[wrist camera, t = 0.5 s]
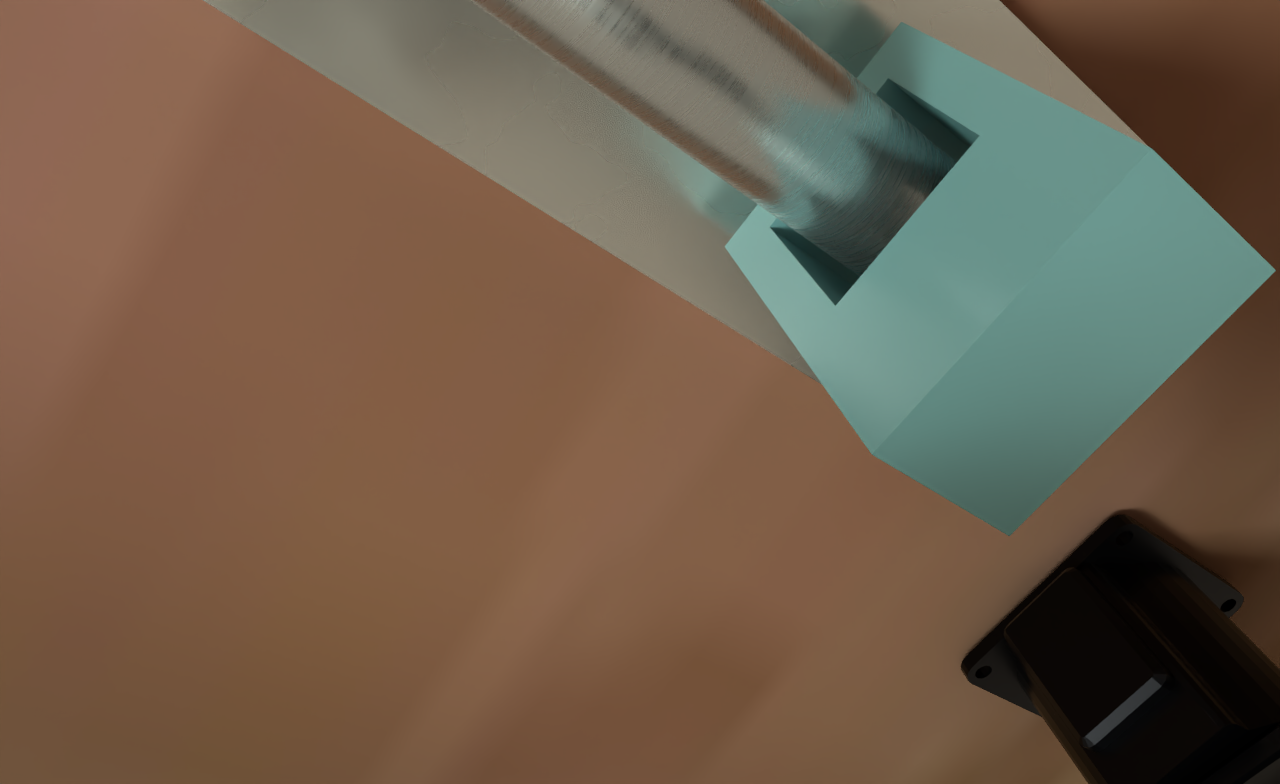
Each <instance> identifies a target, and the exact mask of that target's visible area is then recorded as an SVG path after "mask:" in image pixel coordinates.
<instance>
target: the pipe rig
mask: <svg viewBox="0 0 1280 784" xmlns="http://www.w3.org/2000/svg"><path fill="white" fill-rule="evenodd" d="M203 1H205V2H207V3H208V4H210V5H211V6H213V7H215V8H216V9H218V10H220V11H221V12H223V13H224V14H226V15H228V16H229V17H231V18H232V19H234V20H236V21H237V22H239V23H240V24H242V25H244V26H245V27H247V28H249V29H250V30H252V31H253V32H255V33H257V34H258V35H260V36H261V37H263V38H265V39H266V40H268V41H269V42H271V43H273V44H274V45H276V46H278V47H279V48H281V49H282V50H284V51H286V52H287V53H289V54H290V55H292V56H294V57H295V58H297V59H298V60H300V61H302V62H303V63H305V64H306V65H308V66H310V67H311V68H313V69H315V70H316V71H318V72H319V73H321V74H323V75H324V76H326V77H327V78H329V79H331V80H332V81H334V82H335V83H337V84H339V85H340V86H342V87H344V88H345V89H347V90H348V91H350V92H352V93H353V94H355V95H356V96H358V97H360V98H361V99H363V100H364V101H366V102H368V103H369V104H371V105H373V106H374V107H376V108H377V109H379V110H381V111H382V112H384V113H385V114H387V115H389V116H390V117H392V118H393V119H395V120H397V121H398V122H400V123H402V124H403V125H405V126H406V127H408V128H410V129H411V130H413V131H414V132H416V133H418V134H419V135H421V136H422V137H424V138H426V139H427V140H429V141H431V142H432V143H434V144H435V145H437V146H439V147H440V148H442V149H443V150H445V151H447V152H448V153H450V154H451V155H453V156H455V157H456V158H458V159H460V160H461V161H463V162H464V163H466V164H468V165H469V166H471V167H472V168H474V169H476V170H477V171H479V172H480V173H482V174H484V175H485V176H487V177H489V178H490V179H492V180H493V181H495V182H497V183H498V184H500V185H501V186H503V187H505V188H506V189H508V190H509V191H511V192H513V193H514V194H516V195H518V196H519V197H521V198H522V199H524V200H526V201H527V202H529V203H530V204H532V205H534V206H535V207H537V208H538V209H540V210H542V211H543V212H545V213H547V214H548V215H550V216H551V217H553V218H555V219H556V220H558V221H559V222H561V223H563V224H564V225H566V226H567V227H569V228H571V229H572V230H574V231H576V232H577V233H579V234H580V235H582V236H584V237H585V238H587V239H588V240H590V241H592V242H593V243H595V244H596V245H598V246H600V247H601V248H603V249H605V250H606V251H608V252H609V253H611V254H613V255H614V256H616V257H617V258H619V259H621V260H622V261H624V262H625V263H627V264H629V265H630V266H632V267H634V268H635V269H637V270H638V271H640V272H642V273H643V274H645V275H646V276H648V277H650V278H651V279H653V280H654V281H656V282H658V283H659V284H661V285H663V286H664V287H666V288H667V289H669V290H671V291H672V292H674V293H675V294H677V295H679V296H680V297H682V298H683V299H685V300H687V301H688V302H690V303H692V304H693V305H695V306H696V307H698V308H700V309H701V310H703V311H704V312H706V313H708V314H709V315H711V316H712V317H714V318H716V319H717V320H719V321H721V322H722V323H724V324H725V325H727V326H729V327H730V328H732V329H733V330H735V331H737V332H738V333H740V334H741V335H743V336H745V337H746V338H748V339H750V340H751V341H753V342H754V343H756V344H758V345H759V346H761V347H762V348H764V349H766V350H767V351H769V352H770V353H772V354H774V355H775V356H777V357H779V358H780V359H782V360H783V361H785V362H787V363H788V364H790V365H791V366H793V367H795V368H796V369H798V370H799V371H801V372H803V373H804V374H806V375H808V376H809V377H811V378H812V379H814V380H816V381H817V382H819V383H820V384H822V383H821V382H820V381H819V379H818V378H817V376H816V375H815V373H814V372H813V371H812V369H811V368H810V366H809V365H808V364H807V362H806V361H805V359H804V358H803V357H802V355H801V354H800V352H799V351H798V350H797V348H796V347H795V345H794V344H793V342H792V341H791V340H790V338H789V337H788V335H787V334H786V333H785V331H784V330H783V328H782V327H781V326H780V324H779V323H778V321H777V320H776V319H775V317H774V316H773V314H772V313H771V311H770V310H769V309H768V307H767V306H766V304H765V303H764V302H763V300H762V299H761V297H760V296H759V295H758V293H757V292H756V290H755V289H754V288H753V286H752V285H751V283H750V282H749V280H748V279H747V278H746V276H745V275H744V273H743V272H742V271H741V269H740V268H739V266H738V265H737V264H736V262H735V261H734V259H733V258H732V257H731V255H730V254H729V252H728V251H727V249H726V248H725V245H726V244H727V243H728V242H729V240H730V239H731V238H732V237H733V235H734V234H735V233H736V231H737V230H738V229H739V228H740V226H741V225H742V224H743V223H744V221H745V220H746V219H747V217H748V216H749V215H750V214H751V212H752V211H753V210H754V209H755V207H756V206H757V205H759V206H761V207H762V208H763V209H765V210H766V211H768V212H769V213H771V214H772V215H773V216H775V217H776V218H778V219H779V220H780V221H782V222H783V223H785V224H786V225H788V226H789V227H790V228H792V229H793V230H795V231H796V232H797V233H799V234H800V235H802V236H803V237H804V238H806V239H807V240H809V241H810V242H812V243H813V244H814V245H816V246H817V247H819V248H820V249H821V250H823V251H824V252H826V253H827V254H828V255H830V256H831V257H833V258H834V259H836V260H837V261H838V262H840V263H841V264H843V265H844V266H845V267H847V268H848V269H850V270H851V271H853V272H854V273H855V274H857V275H858V276H861V275H862V274H863V273H864V272H865V271H866V269H867V268H868V267H869V266H870V265H871V263H872V262H873V261H874V260H875V259H876V258H877V256H878V255H879V254H880V253H881V252H882V250H883V249H884V248H885V247H886V246H887V245H888V243H889V242H890V241H891V240H892V239H893V237H894V236H895V235H896V234H897V233H898V232H899V230H900V229H901V228H902V227H903V226H904V224H905V223H906V222H907V221H908V220H909V219H910V217H911V216H912V215H913V214H914V213H915V211H916V210H917V209H918V208H919V207H920V206H921V204H922V203H923V202H924V201H925V200H926V198H927V197H928V196H929V195H930V194H931V193H932V191H933V190H934V189H935V188H936V187H937V185H938V184H939V183H940V182H941V181H942V180H943V178H944V177H945V176H946V175H947V174H948V172H949V171H950V170H951V169H952V168H953V167H954V165H955V164H956V163H957V162H956V161H955V160H954V159H953V158H951V157H950V156H949V155H948V154H947V153H945V152H944V151H943V150H942V149H941V148H939V147H938V146H937V145H936V144H935V143H933V142H932V141H931V140H930V139H929V138H927V137H926V136H925V135H924V134H923V133H922V132H920V131H919V130H918V129H917V128H916V127H914V126H913V125H912V124H911V123H910V122H908V121H907V120H906V119H905V118H904V117H902V116H901V115H900V114H899V113H898V112H896V111H895V110H894V109H893V108H892V107H890V106H889V105H888V104H887V103H886V102H884V101H883V100H882V99H881V98H880V97H879V96H877V95H876V94H875V93H874V92H873V91H871V90H870V89H869V88H868V87H867V86H865V85H864V84H863V83H862V82H861V81H859V80H858V79H857V77H858V76H859V75H860V74H861V72H862V71H863V70H864V68H865V67H866V66H867V65H868V63H869V62H870V61H871V60H872V58H873V57H874V56H875V54H876V53H877V52H878V51H879V49H880V48H881V47H882V46H883V44H884V43H885V42H886V40H887V39H888V38H889V37H890V35H891V34H892V33H893V32H894V30H895V29H896V28H897V26H898V25H899V24H900V23H901V22H903V23H905V24H907V25H909V26H911V27H913V28H915V29H917V30H919V31H921V32H923V33H925V34H927V35H929V36H931V37H933V38H935V39H937V40H939V41H941V42H943V43H945V44H947V45H949V46H951V47H952V48H954V49H956V50H958V51H960V52H962V53H964V54H966V55H968V56H970V57H972V58H974V59H976V60H978V61H980V62H982V63H984V64H986V65H988V66H990V67H992V68H994V69H996V70H998V71H1000V72H1002V73H1004V74H1006V75H1008V76H1010V77H1012V78H1014V79H1016V80H1018V81H1020V82H1022V83H1024V84H1026V85H1028V86H1030V87H1032V88H1033V89H1035V90H1037V91H1039V92H1041V93H1043V94H1045V95H1047V96H1049V97H1051V98H1053V99H1055V100H1057V101H1059V102H1061V103H1063V104H1065V105H1067V106H1069V107H1071V108H1073V109H1075V110H1077V111H1079V112H1081V113H1083V114H1085V115H1087V116H1089V117H1091V118H1093V119H1095V120H1097V121H1099V122H1101V123H1103V124H1105V125H1107V126H1109V127H1111V128H1113V129H1114V130H1116V131H1118V132H1120V133H1122V134H1124V135H1126V136H1128V137H1130V138H1132V139H1134V140H1136V141H1138V142H1140V143H1142V144H1144V145H1146V144H1145V143H1144V142H1143V141H1142V140H1141V139H1140V138H1139V137H1138V136H1137V135H1136V134H1135V133H1134V132H1133V131H1132V130H1131V129H1130V128H1129V127H1128V126H1127V125H1126V124H1125V123H1124V122H1123V121H1122V120H1121V119H1120V118H1119V117H1118V116H1117V115H1116V114H1115V113H1114V112H1113V111H1112V110H1111V109H1110V108H1109V107H1108V106H1107V105H1106V104H1105V103H1104V102H1103V101H1102V100H1101V99H1099V98H1098V97H1097V96H1096V95H1095V94H1094V93H1093V92H1092V91H1091V90H1090V89H1089V88H1088V87H1087V86H1086V85H1085V84H1084V83H1083V82H1082V81H1081V80H1080V79H1079V78H1078V77H1077V76H1076V75H1075V74H1074V73H1073V72H1072V71H1071V70H1070V69H1069V68H1068V67H1067V66H1066V65H1065V64H1064V63H1063V62H1062V61H1061V60H1060V59H1059V58H1058V57H1057V56H1056V55H1055V54H1054V53H1053V52H1052V51H1051V50H1050V49H1049V48H1048V47H1046V46H1045V45H1044V44H1043V43H1042V42H1041V41H1040V40H1039V39H1038V38H1037V37H1036V36H1035V35H1034V34H1033V33H1032V32H1031V31H1030V30H1029V29H1028V28H1027V27H1026V26H1025V25H1024V24H1023V23H1022V22H1021V21H1020V20H1019V19H1018V18H1017V17H1016V16H1015V15H1014V14H1013V13H1012V12H1011V11H1010V10H1009V9H1008V8H1007V7H1006V6H1005V5H1004V4H1003V3H1002V2H1001V1H1000V0H203ZM1146 146H1147V145H1146Z"/></svg>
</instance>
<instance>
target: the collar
mask: <svg viewBox="0 0 1280 784" xmlns="http://www.w3.org/2000/svg"><path fill="white" fill-rule="evenodd" d="M857 79H858V80H859V81H861V82H862V83H863V84H864V85H865V86H867V87H868V88H869V89H870V90H871V91H873V92H874V93H875V94H876V95H877V96H879V97H880V98H881V99H882V100H883V101H884V102H886V103H887V104H888V105H889V106H890V107H892V108H893V109H894V110H895V111H896V112H898V113H899V114H900V115H901V116H902V117H904V118H905V119H906V120H907V121H908V122H910V123H911V124H912V125H913V126H914V127H916V128H917V129H918V130H919V131H920V132H922V133H923V134H924V135H925V136H926V137H927V138H929V139H930V140H931V141H932V142H933V143H935V144H936V145H937V146H938V147H939V148H941V149H942V150H943V151H944V152H945V153H947V154H948V155H949V156H950V157H951V158H953V159H954V160H955V161H956V162H957V163H956V164H955V165H954V167H953V168H952V169H951V170H950V171H949V172H948V174H947V175H946V176H945V177H944V178H943V180H942V181H941V182H940V183H939V184H938V185H937V187H936V188H935V189H934V190H933V191H932V193H931V194H930V195H929V196H928V197H927V198H926V200H925V201H924V202H923V203H922V204H921V206H920V207H919V208H918V209H917V210H916V211H915V213H914V214H913V215H912V216H911V217H910V219H909V220H908V221H907V222H906V223H905V224H904V226H903V227H902V228H901V229H900V230H899V232H898V233H897V234H896V235H895V236H894V237H893V239H892V240H891V241H890V242H889V243H888V245H887V246H886V247H885V248H884V249H883V250H882V252H881V253H880V254H879V255H878V256H877V258H876V259H875V260H874V261H873V262H872V263H871V265H870V266H869V267H868V268H867V269H866V271H865V272H864V273H863V274H862V275H861V276H858V275H857V274H855V273H854V272H853V271H851V270H850V269H848V268H847V267H845V266H844V265H843V264H841V263H840V262H838V261H837V260H836V259H834V258H833V257H831V256H830V255H828V254H827V253H826V252H824V251H823V250H821V249H820V248H819V247H817V246H816V245H814V244H813V243H812V242H810V241H809V240H807V239H806V238H804V237H803V236H802V235H800V234H799V233H797V232H796V231H795V230H793V229H792V228H790V227H789V226H788V225H786V224H785V223H783V222H782V221H780V220H779V219H778V218H776V217H775V216H773V215H772V214H771V213H769V212H768V211H766V210H765V209H763V208H762V207H761V206H759V205H757V206H756V207H755V209H754V210H753V211H752V212H751V214H750V215H749V216H748V217H747V219H746V220H745V221H744V223H743V224H742V225H741V226H740V228H739V229H738V230H737V231H736V233H735V234H734V235H733V237H732V238H731V239H730V240H729V242H728V243H727V244H726V245H725V248H726V249H727V251H728V252H729V254H730V255H731V257H732V258H733V259H734V261H735V262H736V264H737V265H738V266H739V268H740V269H741V271H742V272H743V273H744V275H745V276H746V278H747V279H748V280H749V282H750V283H751V285H752V286H753V288H754V289H755V290H756V292H757V293H758V295H759V296H760V297H761V299H762V300H763V302H764V303H765V304H766V306H767V307H768V309H769V310H770V311H771V313H772V314H773V316H774V317H775V319H776V320H777V321H778V323H779V324H780V326H781V327H782V328H783V330H784V331H785V333H786V334H787V335H788V337H789V338H790V340H791V341H792V342H793V344H794V345H795V347H796V348H797V350H798V351H799V352H800V354H801V355H802V357H803V358H804V359H805V361H806V362H807V364H808V365H809V366H810V368H811V369H812V371H813V372H814V373H815V375H816V376H817V378H818V379H819V381H820V382H821V383H822V385H823V386H824V388H825V389H826V390H827V392H828V393H829V395H830V396H831V397H832V399H833V400H834V402H835V403H836V404H837V406H838V407H839V409H840V410H841V412H842V413H843V414H844V416H845V417H846V419H847V420H848V421H849V423H850V424H851V426H852V427H853V428H854V430H855V431H856V433H857V434H858V435H859V437H860V438H861V440H862V441H863V443H864V444H865V445H866V447H867V448H868V450H869V451H870V452H871V454H872V455H874V456H875V457H877V458H879V459H880V460H882V461H884V462H885V463H887V464H889V465H890V466H892V467H894V468H896V469H897V470H899V471H901V472H902V473H904V474H906V475H907V476H909V477H911V478H912V479H914V480H916V481H917V482H919V483H921V484H922V485H924V486H926V487H927V488H929V489H931V490H933V491H934V492H936V493H938V494H939V495H941V496H943V497H944V498H946V499H948V500H949V501H951V502H953V503H954V504H956V505H958V506H959V507H961V508H963V509H964V510H966V511H968V512H970V513H971V514H973V515H975V516H976V517H978V518H980V519H981V520H983V521H985V522H986V523H988V524H990V525H991V526H993V527H995V528H996V529H998V530H1000V531H1001V532H1003V533H1005V534H1007V535H1008V536H1010V535H1011V534H1012V533H1013V532H1014V531H1015V530H1016V529H1017V528H1018V527H1019V526H1020V525H1021V524H1022V523H1023V522H1024V521H1025V520H1026V519H1027V518H1028V517H1029V516H1030V515H1031V514H1032V513H1033V512H1034V511H1035V510H1036V509H1037V508H1038V507H1039V506H1040V505H1041V504H1042V503H1043V502H1044V501H1045V500H1046V499H1047V498H1048V497H1049V496H1050V495H1051V494H1052V493H1053V492H1054V491H1055V490H1056V489H1057V488H1058V487H1059V486H1060V485H1061V484H1062V483H1063V482H1064V481H1065V480H1066V479H1067V478H1068V477H1069V476H1070V475H1071V474H1072V473H1073V472H1074V471H1075V470H1076V469H1077V468H1078V467H1079V466H1080V465H1081V464H1082V463H1083V462H1084V461H1085V460H1086V459H1087V458H1088V457H1089V456H1090V455H1091V454H1092V453H1093V452H1094V451H1095V450H1096V449H1097V448H1098V447H1099V446H1100V445H1101V444H1102V443H1103V442H1104V441H1105V440H1106V439H1107V438H1108V437H1109V436H1110V435H1111V434H1112V433H1113V432H1114V431H1115V430H1116V429H1117V428H1118V427H1119V426H1120V425H1121V424H1122V423H1123V422H1124V421H1125V420H1126V419H1127V418H1128V417H1129V416H1130V415H1131V414H1132V413H1133V412H1134V411H1135V410H1136V409H1137V408H1138V407H1139V406H1140V405H1141V404H1142V403H1144V402H1145V401H1146V400H1147V399H1148V398H1149V397H1150V396H1151V395H1152V394H1153V393H1154V392H1155V391H1156V390H1157V389H1158V388H1159V387H1160V386H1161V385H1162V384H1163V383H1164V382H1165V381H1166V380H1167V379H1168V378H1169V377H1170V376H1171V375H1172V374H1173V373H1174V372H1175V371H1176V370H1177V369H1178V368H1179V367H1180V366H1181V365H1182V364H1183V363H1184V362H1185V361H1186V360H1187V359H1188V358H1189V357H1190V356H1191V355H1192V354H1193V353H1194V352H1195V351H1196V350H1197V349H1198V348H1199V347H1200V346H1201V345H1202V344H1203V343H1204V342H1205V341H1206V340H1207V339H1208V338H1209V337H1210V336H1211V335H1212V334H1213V333H1214V332H1215V331H1216V330H1217V329H1218V328H1219V327H1220V326H1221V325H1222V324H1223V323H1224V322H1225V321H1226V320H1227V319H1228V318H1229V317H1230V316H1231V315H1232V314H1233V313H1234V312H1235V311H1236V310H1237V309H1238V308H1239V307H1240V306H1241V305H1242V304H1243V303H1244V302H1245V301H1246V300H1247V299H1248V298H1249V297H1250V296H1251V295H1252V294H1253V293H1254V292H1255V291H1256V290H1257V289H1258V288H1259V287H1260V286H1261V285H1262V284H1263V283H1264V282H1265V281H1266V280H1267V279H1268V278H1269V277H1270V276H1271V275H1272V274H1273V273H1274V272H1275V271H1276V270H1275V269H1274V268H1273V267H1272V266H1271V265H1270V264H1269V263H1268V262H1267V261H1266V260H1265V259H1264V258H1263V257H1262V256H1261V255H1260V254H1259V253H1258V252H1257V251H1256V250H1255V249H1254V248H1253V247H1252V246H1251V245H1250V244H1249V243H1248V242H1246V241H1245V240H1244V239H1243V238H1242V237H1241V236H1240V235H1239V234H1238V233H1237V232H1236V231H1235V230H1234V229H1233V228H1232V227H1231V226H1230V225H1229V224H1228V223H1227V222H1226V221H1225V220H1224V219H1223V218H1222V217H1221V216H1220V215H1219V214H1218V213H1217V212H1216V211H1215V210H1214V209H1213V208H1212V207H1211V206H1210V205H1209V204H1208V203H1207V202H1206V201H1205V200H1204V199H1203V198H1202V197H1201V196H1200V195H1199V194H1198V193H1197V192H1196V191H1195V190H1194V189H1193V188H1192V187H1190V186H1189V185H1188V184H1187V183H1186V182H1185V181H1184V180H1183V179H1182V178H1181V177H1180V176H1179V175H1178V174H1177V173H1176V172H1175V171H1174V170H1173V169H1172V168H1171V167H1170V166H1169V165H1168V164H1167V163H1166V162H1165V161H1164V160H1163V159H1162V158H1161V157H1160V156H1159V155H1158V154H1157V153H1156V152H1155V151H1154V150H1153V149H1152V148H1150V147H1148V146H1146V145H1144V144H1142V143H1140V142H1138V141H1136V140H1134V139H1132V138H1130V137H1128V136H1126V135H1124V134H1122V133H1120V132H1118V131H1116V130H1114V129H1113V128H1111V127H1109V126H1107V125H1105V124H1103V123H1101V122H1099V121H1097V120H1095V119H1093V118H1091V117H1089V116H1087V115H1085V114H1083V113H1081V112H1079V111H1077V110H1075V109H1073V108H1071V107H1069V106H1067V105H1065V104H1063V103H1061V102H1059V101H1057V100H1055V99H1053V98H1051V97H1049V96H1047V95H1045V94H1043V93H1041V92H1039V91H1037V90H1035V89H1033V88H1032V87H1030V86H1028V85H1026V84H1024V83H1022V82H1020V81H1018V80H1016V79H1014V78H1012V77H1010V76H1008V75H1006V74H1004V73H1002V72H1000V71H998V70H996V69H994V68H992V67H990V66H988V65H986V64H984V63H982V62H980V61H978V60H976V59H974V58H972V57H970V56H968V55H966V54H964V53H962V52H960V51H958V50H956V49H954V48H952V47H951V46H949V45H947V44H945V43H943V42H941V41H939V40H937V39H935V38H933V37H931V36H929V35H927V34H925V33H923V32H921V31H919V30H917V29H915V28H913V27H911V26H909V25H907V24H905V23H903V22H901V23H900V24H899V25H898V26H897V28H896V29H895V30H894V32H893V33H892V34H891V35H890V37H889V38H888V39H887V40H886V42H885V43H884V44H883V46H882V47H881V48H880V49H879V51H878V52H877V53H876V54H875V56H874V57H873V58H872V60H871V61H870V62H869V63H868V65H867V66H866V67H865V68H864V70H863V71H862V72H861V74H860V75H859V76H858V77H857Z"/></svg>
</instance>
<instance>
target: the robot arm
mask: <svg viewBox="0 0 1280 784" xmlns="http://www.w3.org/2000/svg"><path fill="white" fill-rule="evenodd" d="M1243 599H1244V597H1243V596H1242V594H1241V593H1240V592H1239V591H1238V590H1237V589H1235V588H1234V587H1233V586H1232V585H1231V584H1230V583H1228V582H1227V581H1225V580H1224V579H1222V578H1221V577H1219V576H1218V575H1216V574H1215V573H1213V572H1212V571H1210V570H1209V569H1207V568H1206V567H1204V566H1203V565H1201V564H1200V563H1198V562H1197V561H1195V560H1194V559H1192V558H1191V557H1189V556H1188V555H1186V554H1185V553H1183V552H1182V551H1180V550H1179V549H1177V548H1176V547H1174V546H1173V545H1171V544H1170V543H1168V542H1167V541H1165V540H1164V539H1162V538H1161V537H1159V536H1158V535H1156V534H1155V533H1153V532H1152V531H1150V530H1149V529H1147V528H1146V527H1144V526H1143V525H1141V524H1140V523H1138V522H1137V521H1135V520H1134V519H1132V518H1131V517H1129V516H1127V515H1117V516H1115V517H1112V518H1111V519H1109V520H1108V521H1107V522H1105V523H1104V524H1103V525H1102V526H1101V527H1100V528H1099V529H1098V530H1097V531H1096V532H1095V533H1094V534H1093V535H1092V536H1091V537H1090V538H1089V539H1088V540H1087V541H1086V542H1084V543H1083V544H1082V545H1081V546H1080V547H1079V548H1078V549H1077V550H1076V551H1075V552H1074V553H1073V554H1072V555H1071V556H1070V557H1069V558H1068V559H1067V560H1066V561H1065V562H1064V563H1063V564H1062V565H1061V566H1060V567H1059V568H1058V569H1056V570H1055V571H1054V572H1053V573H1052V574H1051V575H1050V576H1049V577H1048V578H1047V579H1046V580H1045V581H1044V582H1043V583H1042V584H1041V585H1040V586H1039V587H1038V588H1037V589H1036V590H1035V591H1034V592H1033V593H1032V594H1031V595H1029V596H1028V597H1027V598H1026V599H1025V600H1024V601H1023V602H1022V603H1021V604H1020V605H1019V606H1018V607H1017V608H1016V609H1015V610H1014V611H1013V612H1012V613H1011V614H1010V615H1009V616H1008V617H1007V618H1006V619H1005V620H1004V621H1003V622H1001V623H1000V624H999V625H998V626H997V627H996V628H995V629H994V630H993V631H992V632H991V633H990V634H989V635H988V636H987V637H986V638H985V639H984V640H983V641H982V642H981V643H980V644H979V645H978V646H977V647H976V648H974V649H973V650H972V651H971V652H970V653H969V654H968V655H967V656H966V657H965V659H964V660H963V661H962V664H961V670H962V672H963V673H964V675H965V676H966V678H967V680H968V681H969V682H970V683H971V684H973V685H976V686H978V687H980V688H982V689H984V690H986V691H988V692H990V693H992V694H995V695H997V696H999V697H1001V698H1003V699H1005V700H1007V701H1009V702H1011V703H1014V704H1016V705H1018V706H1020V707H1022V708H1024V709H1026V710H1028V711H1031V712H1033V713H1035V714H1037V715H1039V716H1041V717H1043V719H1044V720H1045V722H1046V723H1047V725H1048V726H1049V728H1050V729H1051V730H1052V732H1053V733H1054V735H1055V736H1056V738H1057V739H1058V741H1059V742H1060V743H1061V745H1062V746H1063V748H1064V749H1065V751H1066V752H1067V754H1068V755H1069V756H1070V758H1071V759H1072V761H1073V762H1074V764H1075V765H1076V767H1077V768H1078V769H1079V771H1080V772H1081V774H1082V775H1083V777H1084V778H1085V779H1086V781H1087V782H1088V784H1280V669H1279V668H1278V667H1277V666H1276V665H1275V664H1274V663H1273V662H1272V661H1271V660H1270V659H1269V658H1268V657H1267V656H1266V655H1265V654H1264V653H1263V652H1262V651H1261V650H1260V649H1259V648H1258V647H1257V646H1256V645H1255V644H1254V643H1253V642H1252V641H1251V640H1250V639H1249V638H1248V637H1247V636H1246V635H1245V634H1244V633H1243V632H1242V631H1241V630H1240V629H1239V628H1238V627H1237V626H1236V625H1235V624H1234V623H1233V622H1232V621H1231V620H1230V619H1229V618H1230V617H1231V616H1232V615H1233V614H1234V613H1235V612H1236V611H1237V610H1238V609H1239V608H1240V607H1241V606H1242V603H1243Z"/></svg>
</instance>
